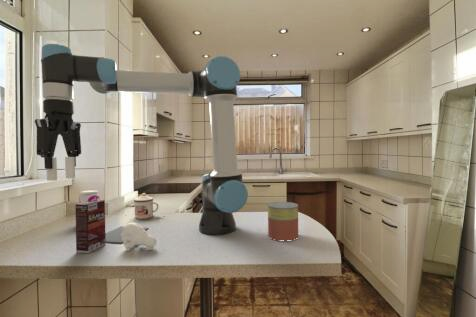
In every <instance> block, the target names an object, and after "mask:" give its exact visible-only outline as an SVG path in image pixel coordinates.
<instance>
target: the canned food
mask: <svg viewBox="0 0 476 317" xmlns="http://www.w3.org/2000/svg"><path fill="white" fill-rule="evenodd" d="M267 230H268V231H267V237H268V236H269V237H270V238H272V239H275V240H284V241H287V240H294V239H296V238H298V236H299V204H298V203H297V202H296V203H295V202H289V201H275V202H270V203H267ZM269 237H268V238H269ZM270 238H269V239H270ZM272 239H271V240H272ZM298 239H299V238H298Z"/></svg>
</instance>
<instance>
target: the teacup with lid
mask: <svg viewBox="0 0 476 317" xmlns="http://www.w3.org/2000/svg"><path fill="white" fill-rule="evenodd" d="M146 194H147V193H146V192H143V193H141V195H140V196H137V197H135V198H134V200H133V202H134V218H135V219H139V220H142V219H150V218H152V217H153V216H154V213H155V212H157V211H158V210H159V207H160V205H159V203H158V202H156V201H154V198H153V197H152V196H149V195H146ZM154 205H156V208H155V210H154Z"/></svg>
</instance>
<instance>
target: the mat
mask: <svg viewBox="0 0 476 317" xmlns="http://www.w3.org/2000/svg"><path fill="white" fill-rule="evenodd" d="M124 226H125V225H124ZM124 226H121V225H120V226H119V227H117V228H115V229H111V230H110V231H107V232H105V237H106V244H121V245H122V244H124V242H123V241H122V238H121V233H122V229H123V227H124ZM142 227H143V226H142ZM143 228H144V230H145V231H146V232H147V230H149V227H143Z"/></svg>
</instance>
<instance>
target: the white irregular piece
mask: <svg viewBox="0 0 476 317" xmlns="http://www.w3.org/2000/svg"><path fill="white" fill-rule="evenodd" d="M144 228H145V227H144ZM144 228H143V226H142V225H140V224H139V223H137V222H128V223H126V224H125V225H124V227H123V229H122V233H121V238H122V241H123V242H124V243H123V246H124V248H125V251H126V252H129V251H130V250H131V248H132V247H138V246H144V247H145V248H144V249H145V250H147V251H148V250H150V251H152V250H154V248H155V246H157V238H156V237H154V236H152V235H150V234H149V232H147V230H146V231H145V230H144Z"/></svg>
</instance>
